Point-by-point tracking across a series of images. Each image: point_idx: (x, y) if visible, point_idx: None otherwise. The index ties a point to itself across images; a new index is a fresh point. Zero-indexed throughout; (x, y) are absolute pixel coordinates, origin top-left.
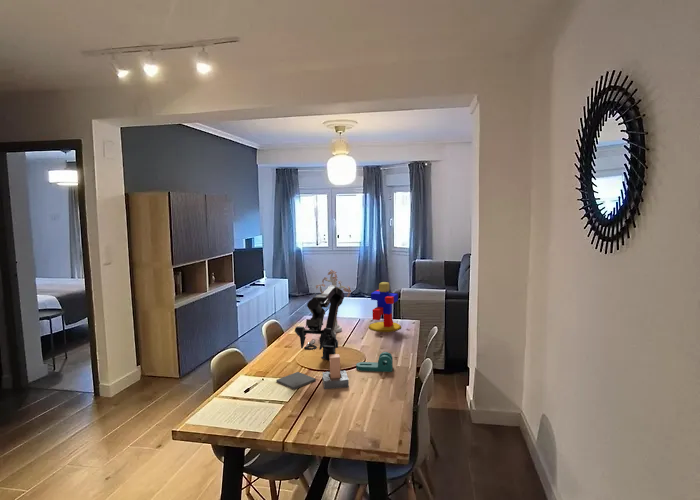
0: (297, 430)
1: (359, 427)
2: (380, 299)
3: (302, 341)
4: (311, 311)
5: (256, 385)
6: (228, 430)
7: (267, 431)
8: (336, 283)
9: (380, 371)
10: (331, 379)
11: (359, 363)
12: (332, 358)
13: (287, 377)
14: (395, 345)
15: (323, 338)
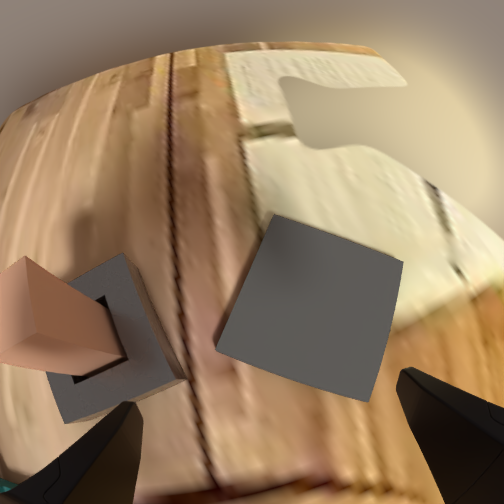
0: (155, 72)
1: (40, 126)
2: None
3: (454, 410)
4: None
5: (434, 212)
6: (292, 46)
7: (215, 55)
8: None
9: (8, 481)
10: (94, 288)
11: None
12: (16, 265)
13: (376, 308)
14: None
15: (30, 497)
